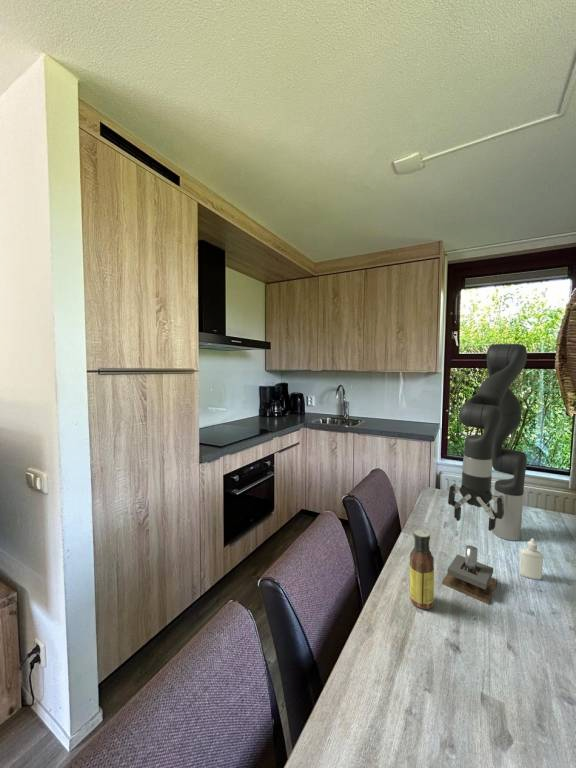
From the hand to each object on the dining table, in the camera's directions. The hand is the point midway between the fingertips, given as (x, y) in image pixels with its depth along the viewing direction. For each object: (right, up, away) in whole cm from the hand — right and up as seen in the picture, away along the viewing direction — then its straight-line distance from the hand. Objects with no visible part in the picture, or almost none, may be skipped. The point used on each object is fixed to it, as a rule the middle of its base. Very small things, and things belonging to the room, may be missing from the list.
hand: (473, 524), depth 98 cm
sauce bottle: (-19, -19, -7) cm, 27 cm away
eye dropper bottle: (+20, -18, +5) cm, 28 cm away
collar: (-1, -15, +1) cm, 15 cm away
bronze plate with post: (-1, -18, +1) cm, 18 cm away
